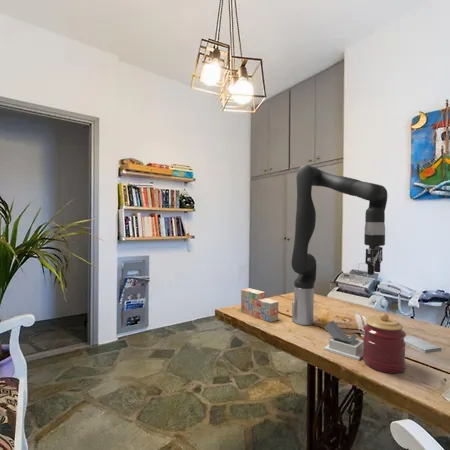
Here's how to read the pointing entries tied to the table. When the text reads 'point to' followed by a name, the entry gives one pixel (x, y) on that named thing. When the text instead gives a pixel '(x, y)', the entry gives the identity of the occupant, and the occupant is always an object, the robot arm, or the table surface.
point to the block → (339, 333)
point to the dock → (346, 348)
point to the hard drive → (420, 344)
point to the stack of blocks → (258, 305)
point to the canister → (384, 344)
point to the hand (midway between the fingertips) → (374, 273)
